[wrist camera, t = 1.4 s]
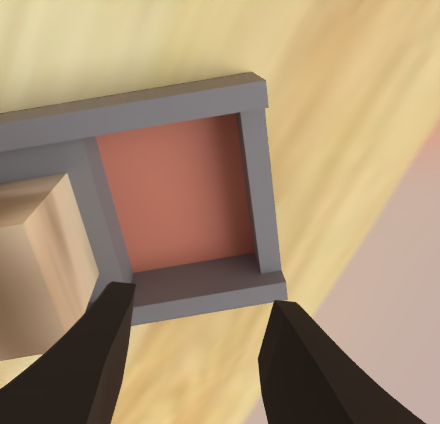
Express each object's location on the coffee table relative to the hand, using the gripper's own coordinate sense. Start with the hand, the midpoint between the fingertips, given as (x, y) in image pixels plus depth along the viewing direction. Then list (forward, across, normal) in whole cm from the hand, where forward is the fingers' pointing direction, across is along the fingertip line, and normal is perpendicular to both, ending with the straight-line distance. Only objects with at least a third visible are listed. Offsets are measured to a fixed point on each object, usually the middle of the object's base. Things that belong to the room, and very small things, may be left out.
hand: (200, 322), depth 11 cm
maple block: (+8, +7, +2) cm, 11 cm away
